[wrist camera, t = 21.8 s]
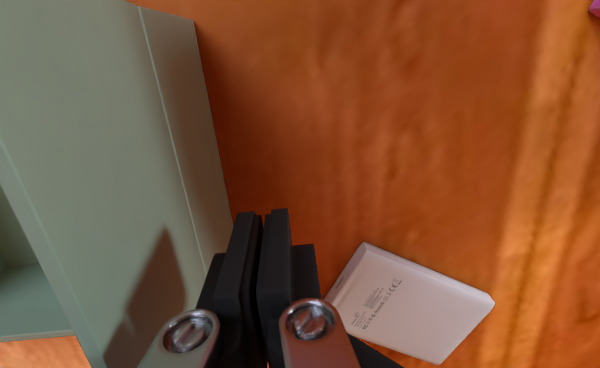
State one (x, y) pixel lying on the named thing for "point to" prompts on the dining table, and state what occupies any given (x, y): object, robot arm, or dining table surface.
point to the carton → (192, 167)
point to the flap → (95, 172)
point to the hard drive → (405, 305)
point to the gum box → (595, 8)
